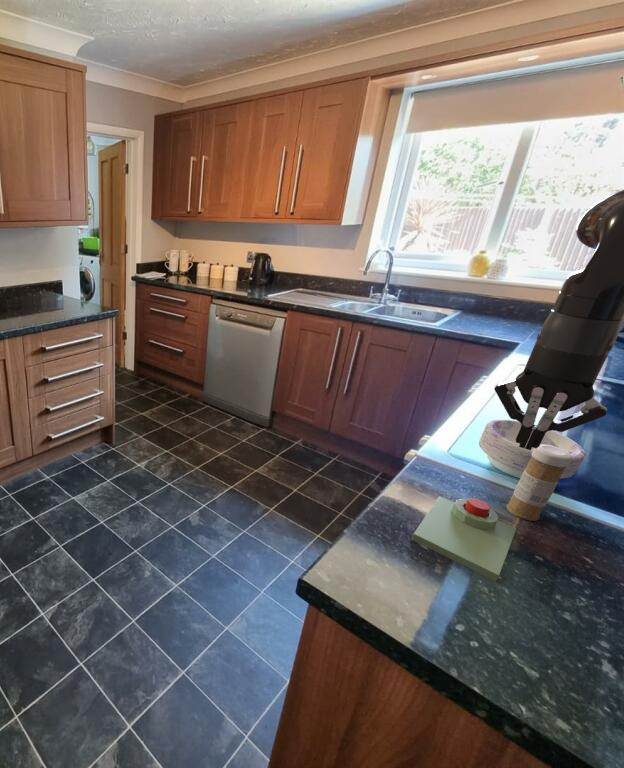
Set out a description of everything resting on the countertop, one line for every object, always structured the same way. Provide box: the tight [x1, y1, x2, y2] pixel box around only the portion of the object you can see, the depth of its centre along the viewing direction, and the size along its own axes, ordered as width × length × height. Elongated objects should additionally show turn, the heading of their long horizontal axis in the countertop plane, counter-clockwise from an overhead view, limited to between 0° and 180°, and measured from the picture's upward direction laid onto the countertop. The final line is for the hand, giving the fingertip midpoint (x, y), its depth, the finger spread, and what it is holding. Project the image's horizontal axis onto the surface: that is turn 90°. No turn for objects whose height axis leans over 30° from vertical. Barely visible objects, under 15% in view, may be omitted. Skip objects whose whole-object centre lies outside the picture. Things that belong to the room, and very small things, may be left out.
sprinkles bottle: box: [505, 444, 572, 522], centre depth 74 cm, size 5×5×14 cm
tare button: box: [465, 497, 491, 518], centre depth 72 cm, size 3×3×2 cm
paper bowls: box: [478, 419, 587, 480], centre depth 88 cm, size 15×15×8 cm
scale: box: [411, 495, 517, 582], centre depth 70 cm, size 16×11×3 cm
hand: (525, 446), depth 68 cm, fingers closed
